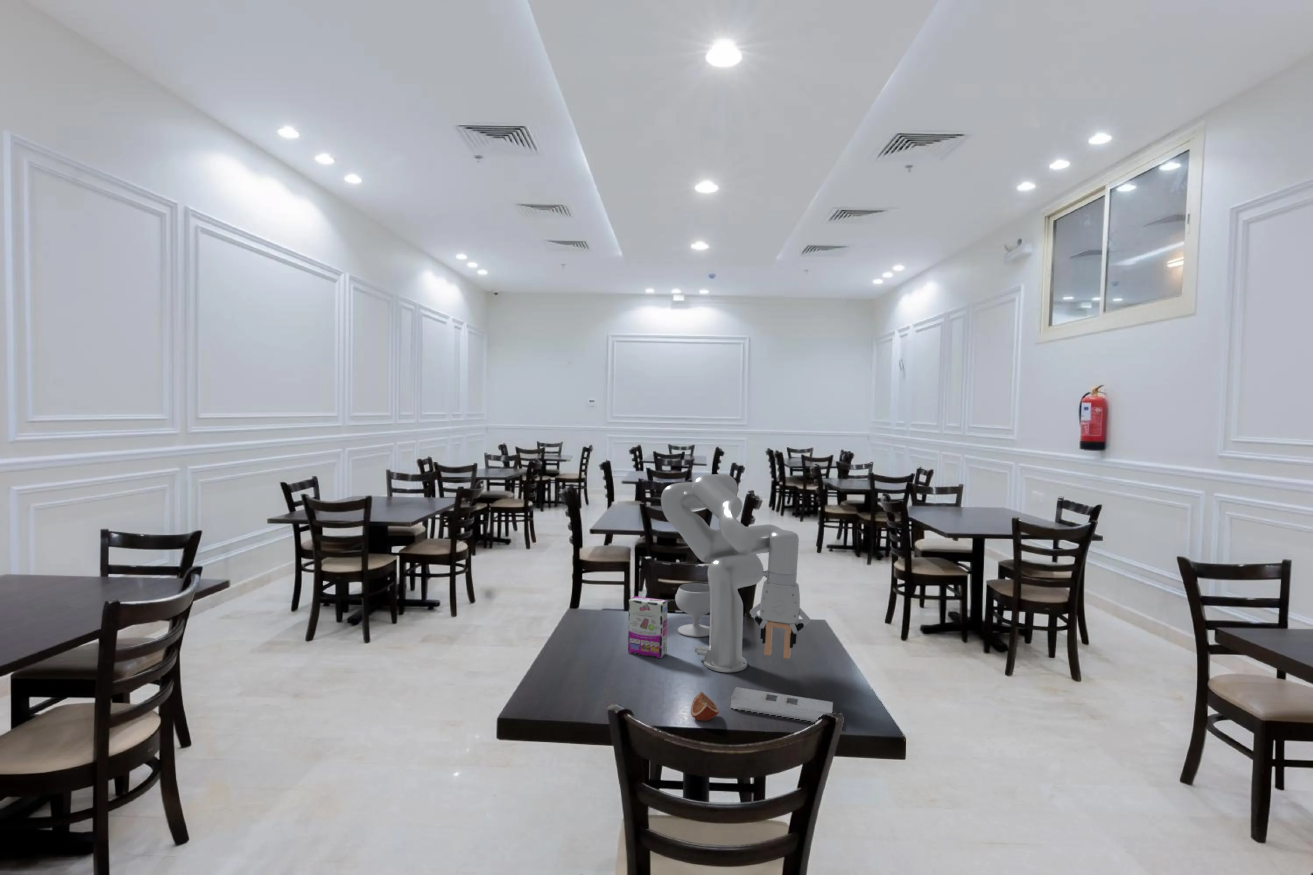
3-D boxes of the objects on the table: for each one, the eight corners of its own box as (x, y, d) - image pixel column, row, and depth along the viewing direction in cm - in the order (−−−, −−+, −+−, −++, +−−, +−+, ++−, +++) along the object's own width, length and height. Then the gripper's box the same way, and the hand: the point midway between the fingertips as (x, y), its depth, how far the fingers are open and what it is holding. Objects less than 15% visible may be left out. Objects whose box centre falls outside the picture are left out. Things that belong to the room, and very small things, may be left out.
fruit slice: (688, 710, 153) (688, 690, 153) (715, 709, 153) (715, 689, 153) (693, 727, 145) (693, 706, 144) (721, 726, 145) (722, 705, 145)
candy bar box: (667, 653, 190) (668, 599, 189) (661, 659, 185) (662, 604, 184) (633, 647, 194) (634, 595, 193) (627, 653, 189) (628, 599, 189)
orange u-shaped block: (764, 654, 166) (766, 621, 165) (765, 651, 168) (767, 618, 167) (789, 658, 164) (791, 625, 163) (790, 655, 166) (792, 622, 165)
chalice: (672, 625, 216) (673, 582, 215) (711, 624, 217) (713, 581, 217) (678, 639, 202) (679, 593, 201) (720, 638, 203) (721, 593, 203)
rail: (730, 708, 154) (731, 696, 154) (735, 698, 160) (735, 686, 160) (831, 725, 147) (831, 712, 147) (832, 714, 152) (832, 701, 152)
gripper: (746, 577, 164) (743, 643, 165) (814, 586, 158) (810, 654, 159) (751, 570, 171) (747, 633, 172) (816, 578, 165) (812, 644, 167)
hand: (777, 643), depth 166 cm, fingers closed on orange u-shaped block, 6 cm apart
